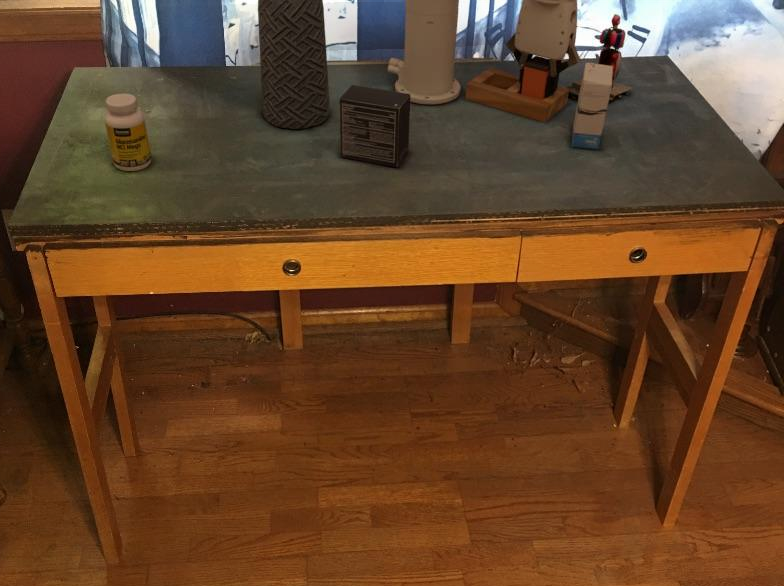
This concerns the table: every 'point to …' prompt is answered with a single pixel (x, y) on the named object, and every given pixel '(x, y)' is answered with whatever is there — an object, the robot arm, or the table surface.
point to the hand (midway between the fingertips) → (537, 90)
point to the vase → (293, 62)
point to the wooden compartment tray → (513, 95)
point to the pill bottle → (127, 133)
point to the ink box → (592, 105)
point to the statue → (608, 58)
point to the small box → (374, 125)
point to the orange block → (535, 77)
